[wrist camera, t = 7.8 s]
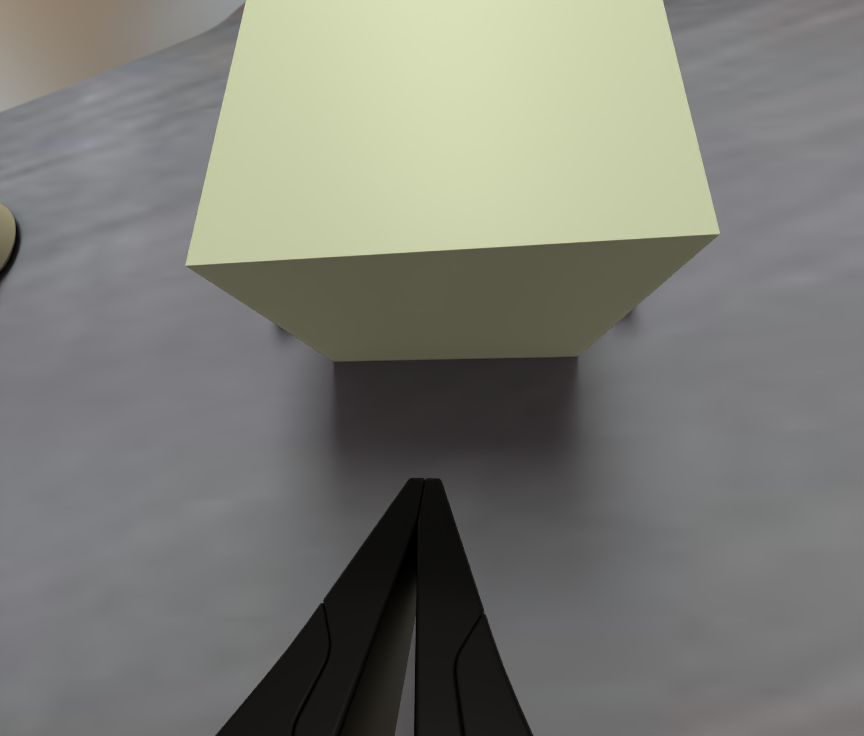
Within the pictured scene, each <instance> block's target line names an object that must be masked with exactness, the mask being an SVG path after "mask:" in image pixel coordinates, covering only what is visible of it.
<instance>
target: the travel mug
mask: <svg viewBox="0 0 864 736" xmlns="http://www.w3.org/2000/svg"><path fill="white" fill-rule="evenodd" d="M15 233H16V229H15V221H14V218H13V215H12V213H11V212H10V211H9V209H7V208H6V207H5V206H4V205H2V204H0V272H1V271H2V269H3V268H4V267H5V266H6V264H7V262H8V261H9V259H10V257H11V254H12V251H13V248H14V245H15Z"/></svg>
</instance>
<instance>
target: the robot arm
mask: <svg viewBox="0 0 864 736" xmlns="http://www.w3.org/2000/svg"><path fill="white" fill-rule="evenodd" d="M323 602H324V604H323V603H321V604H320V605H319V606H318V608H317V609H316V611H315V612H314V613H313V615H312V616H311V618H310V619H309V621H308V622H307V623H306V625H305V626H304V627H303V629H302V630H301V631H300V633H299V634H298V635H297V637H296V638H295V639H294V641H293V642H292V643H291V645H290V646H289V647H288V649H287V650H286V651H285V652H284V654H283V655H282V656H281V657H280V659H279V660H278V661H277V662H276V664H275V665H274V666H273V667H272V668H271V670H270V671H269V672H268V673H267V675H266V676H265V677H264V678H263V680H262V681H261V682H260V683H259V684H258V685H257V687H256V688H255V689H254V690H253V691H252V693H251V694H250V695H249V696H248V697H247V699H246V700H245V701H244V702H243V703H242V704H241V706H240V707H239V708H238V709H237V710H236V712H235V713H234V714H233V715H232V716H231V718H230V719H229V720H228V721H227V722H226V724H225V725H224V726H223V727H222V728H221V729H220V731H219V732H218V733H217V734H216V735H215V736H394V735H395V730H396V724H397V718H398V712H399V707H400V701H401V695H402V690H403V684H404V678H405V673H406V667H407V661H408V656H409V650H410V644H411V638H412V633H413V627H414V621H415V616H416V647H415V712H414V736H533V734H532V732H531V729H530V727H529V725H528V723H527V720H526V718H525V716H524V714H523V711H522V709H521V707H520V705H519V702H518V700H517V697H516V695H515V693H514V690H513V688H512V685H511V683H510V681H509V678H508V676H507V673H506V671H505V669H504V666H503V663H502V660H501V658H500V655H499V652H498V649H497V646H496V644H495V641H494V638H493V635H492V632H491V629H490V626H489V623H488V620H487V617H486V615H485V614H484V608H483V605H482V602H481V599H480V596H479V593H478V590H477V587H476V584H475V581H474V578H473V575H472V572H471V569H470V566H469V563H468V560H467V557H466V554H465V551H464V547H463V544H462V541H461V538H460V535H459V532H458V529H457V526H456V523H455V520H454V517H453V514H452V511H451V508H450V505H449V502H448V499H447V496H446V493H445V490H444V487H443V484H442V481H441V479H439V478H427V479H426V480H425V479H424V478H410V479H409V480H408V481H407V483H406V484H405V485H404V487H403V488H402V490H401V491H400V492H399V494H398V495H397V497H396V498H395V500H394V501H393V502H392V504H391V505H390V507H389V508H388V509H387V511H386V512H385V514H384V515H383V516H382V518H381V519H380V521H379V522H378V523H377V525H376V526H375V528H374V529H373V531H372V532H371V533H370V535H369V536H368V538H367V539H366V540H365V542H364V543H363V545H362V546H361V547H360V549H359V550H358V552H357V553H356V554H355V556H354V557H353V559H352V560H351V562H350V563H349V564H348V566H347V567H346V569H345V570H344V571H343V573H342V574H341V576H340V577H339V578H338V580H337V581H336V583H335V584H334V585H333V587H332V588H331V590H330V591H329V593H328V594H327V595H326V597H325V598H324V600H323Z"/></svg>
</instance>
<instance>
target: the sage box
mask: <svg viewBox="0 0 864 736" xmlns="http://www.w3.org/2000/svg"><path fill="white" fill-rule="evenodd" d="M719 234H720V232H719V228H718V224H717V220H716V216H715V212H714V207H713V203H712V199H711V195H710V191H709V187H708V183H707V179H706V175H705V171H704V167H703V163H702V159H701V155H700V151H699V147H698V142H697V138H696V134H695V130H694V126H693V122H692V118H691V114H690V110H689V106H688V102H687V98H686V94H685V90H684V86H683V81H682V77H681V73H680V69H679V65H678V61H677V57H676V53H675V49H674V45H673V41H672V37H671V33H670V29H669V25H668V21H667V16H666V12H665V8H664V4H663V0H246V4H245V8H244V13H243V17H242V21H241V26H240V30H239V34H238V39H237V43H236V47H235V52H234V56H233V61H232V65H231V69H230V74H229V78H228V82H227V87H226V91H225V95H224V100H223V104H222V108H221V113H220V117H219V121H218V126H217V130H216V135H215V139H214V143H213V148H212V152H211V156H210V161H209V165H208V169H207V174H206V178H205V182H204V187H203V191H202V195H201V200H200V204H199V208H198V213H197V217H196V222H195V226H194V230H193V235H192V239H191V243H190V248H189V252H188V256H187V261H186V265H185V266H187V267H188V268H190V269H191V270H193V271H194V272H196V273H197V274H199V275H201V276H202V277H204V278H205V279H207V280H208V281H210V282H211V283H213V284H214V285H216V286H218V287H219V288H221V289H222V290H224V291H225V292H227V293H228V294H230V295H231V296H233V297H235V298H236V299H238V300H239V301H241V302H242V303H244V304H245V305H247V306H248V307H250V308H252V309H253V310H255V311H256V312H258V313H259V314H261V315H262V316H264V317H265V318H267V319H269V320H270V321H272V322H273V323H275V324H276V325H278V326H279V327H281V328H282V329H284V330H286V331H287V332H289V333H290V334H292V335H293V336H295V337H296V338H298V339H299V340H301V341H303V342H304V343H306V344H307V345H309V346H310V347H312V348H313V349H315V350H316V351H318V352H320V353H321V354H323V355H324V356H326V357H327V358H329V359H330V360H332V361H383V360H432V359H481V358H530V357H578V356H579V355H580V354H581V353H583V352H584V351H585V350H586V349H587V348H588V347H590V346H591V345H592V344H593V343H594V342H595V341H597V340H598V339H599V338H600V337H601V336H602V335H603V334H605V333H606V332H607V331H608V330H609V329H610V328H612V327H613V326H614V325H615V324H616V323H617V322H619V321H620V320H621V319H622V318H623V317H624V316H625V315H627V314H628V313H629V312H630V311H631V310H632V309H634V308H635V307H636V306H637V305H638V304H639V303H641V302H642V301H643V300H644V299H645V298H646V297H647V296H649V295H650V294H651V293H652V292H653V291H654V290H656V289H657V288H658V287H659V286H660V285H661V284H663V283H664V282H665V281H666V280H667V279H668V278H669V277H671V276H672V275H673V274H674V273H675V272H676V271H678V270H679V269H680V268H681V267H682V266H683V265H685V264H686V263H687V262H688V261H689V260H690V259H691V258H693V257H694V256H695V255H696V254H697V253H698V252H700V251H701V250H702V249H703V248H704V247H705V246H707V245H708V244H709V243H710V242H711V241H712V240H713V239H715V238H716V237H717V236H718V235H719Z"/></svg>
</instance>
